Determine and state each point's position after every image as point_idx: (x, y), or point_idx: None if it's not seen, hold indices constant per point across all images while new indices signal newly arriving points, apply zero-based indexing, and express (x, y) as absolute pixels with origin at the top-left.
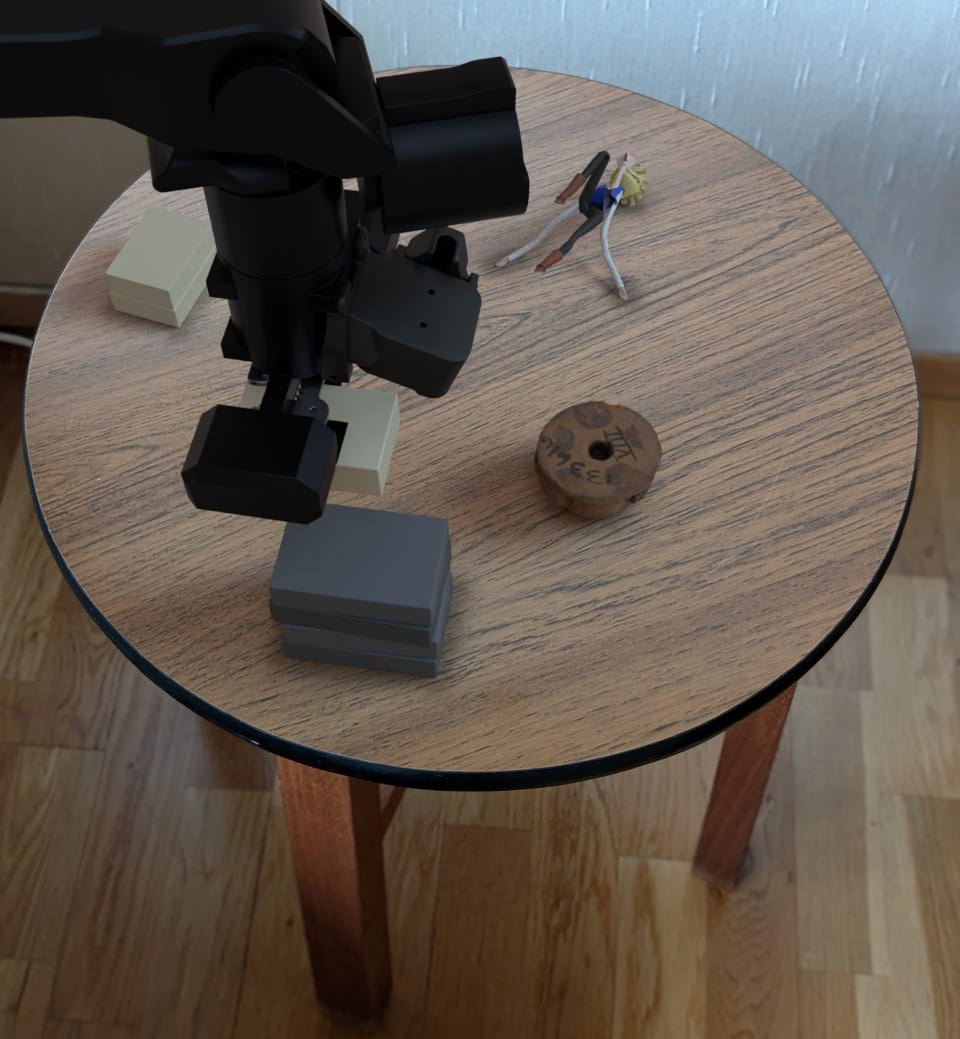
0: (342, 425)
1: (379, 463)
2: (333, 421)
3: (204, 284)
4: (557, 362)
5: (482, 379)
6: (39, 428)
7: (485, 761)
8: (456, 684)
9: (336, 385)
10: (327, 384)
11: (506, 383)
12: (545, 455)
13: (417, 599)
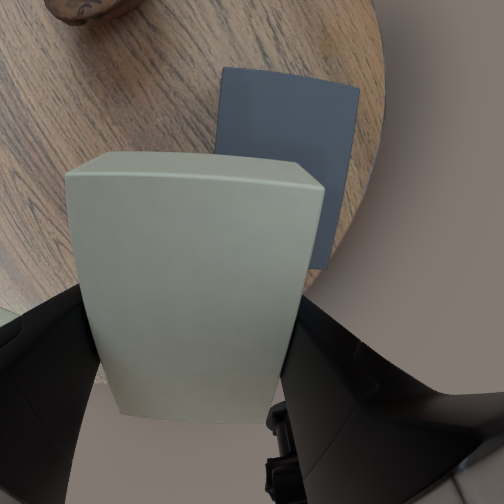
0: (484, 445)
1: (302, 185)
2: (453, 470)
3: (16, 316)
4: (6, 58)
5: (19, 108)
6: None
7: (377, 62)
8: (316, 77)
9: (83, 308)
10: (88, 323)
11: (21, 88)
12: (99, 5)
13: (349, 103)
